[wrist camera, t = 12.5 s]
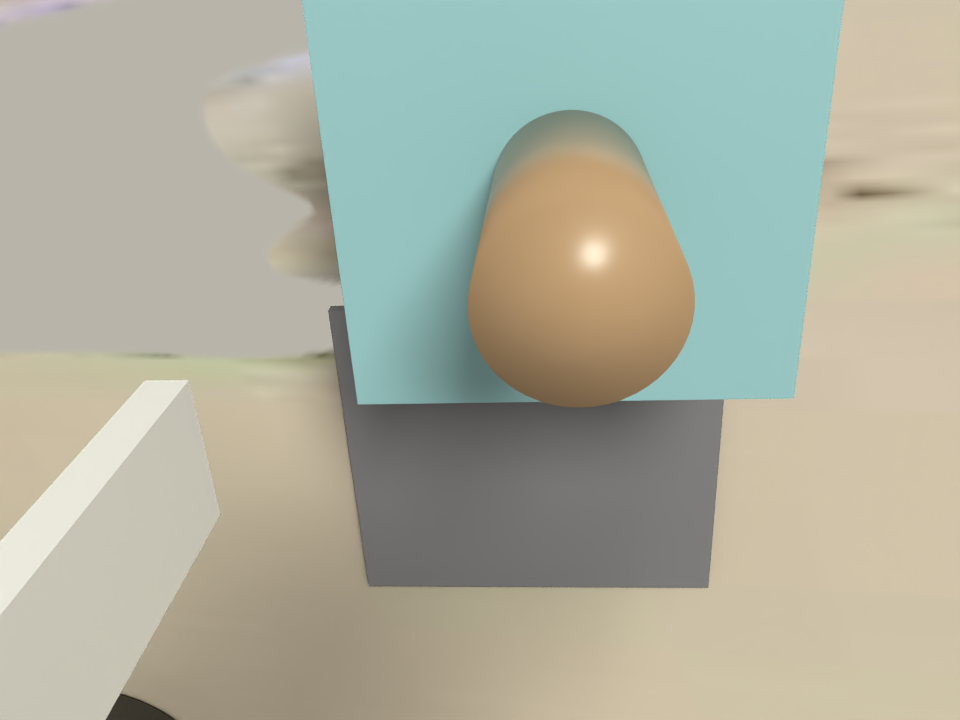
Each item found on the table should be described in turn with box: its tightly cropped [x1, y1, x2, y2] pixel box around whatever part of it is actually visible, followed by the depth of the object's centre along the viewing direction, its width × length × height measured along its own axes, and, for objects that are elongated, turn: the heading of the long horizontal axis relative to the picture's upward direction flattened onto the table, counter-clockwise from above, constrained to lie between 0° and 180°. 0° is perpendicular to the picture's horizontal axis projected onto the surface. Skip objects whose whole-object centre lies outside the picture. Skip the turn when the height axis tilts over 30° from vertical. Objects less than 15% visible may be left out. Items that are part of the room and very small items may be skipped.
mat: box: [328, 306, 724, 588], centre depth 46 cm, size 20×18×1 cm
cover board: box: [302, 0, 844, 408], centre depth 24 cm, size 16×16×11 cm
